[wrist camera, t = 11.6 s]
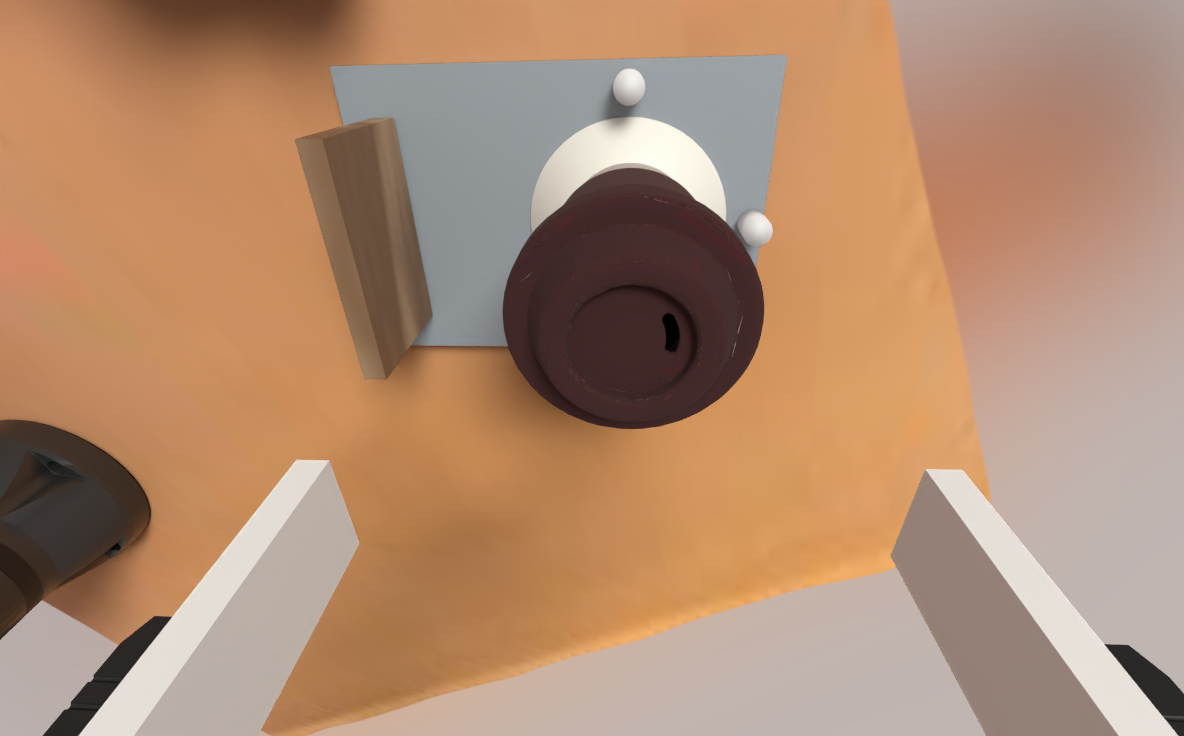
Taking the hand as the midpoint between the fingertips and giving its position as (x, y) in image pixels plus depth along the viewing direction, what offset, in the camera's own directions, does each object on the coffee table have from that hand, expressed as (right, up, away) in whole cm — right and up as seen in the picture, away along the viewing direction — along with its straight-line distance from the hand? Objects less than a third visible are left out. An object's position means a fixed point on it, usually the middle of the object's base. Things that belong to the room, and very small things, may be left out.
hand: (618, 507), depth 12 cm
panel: (-13, +12, +20) cm, 27 cm away
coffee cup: (+2, +12, +19) cm, 23 cm away
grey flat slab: (-2, +13, +21) cm, 24 cm away
